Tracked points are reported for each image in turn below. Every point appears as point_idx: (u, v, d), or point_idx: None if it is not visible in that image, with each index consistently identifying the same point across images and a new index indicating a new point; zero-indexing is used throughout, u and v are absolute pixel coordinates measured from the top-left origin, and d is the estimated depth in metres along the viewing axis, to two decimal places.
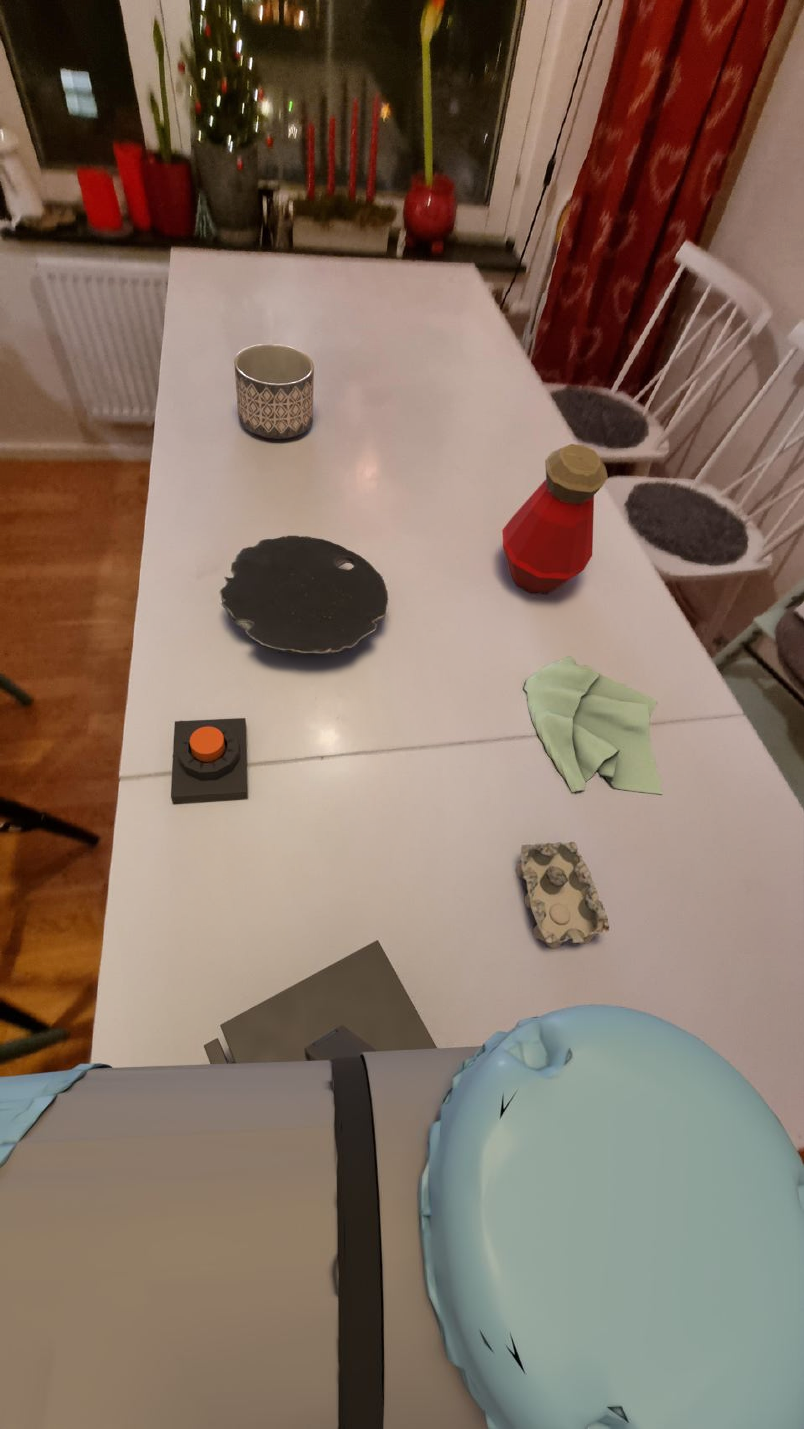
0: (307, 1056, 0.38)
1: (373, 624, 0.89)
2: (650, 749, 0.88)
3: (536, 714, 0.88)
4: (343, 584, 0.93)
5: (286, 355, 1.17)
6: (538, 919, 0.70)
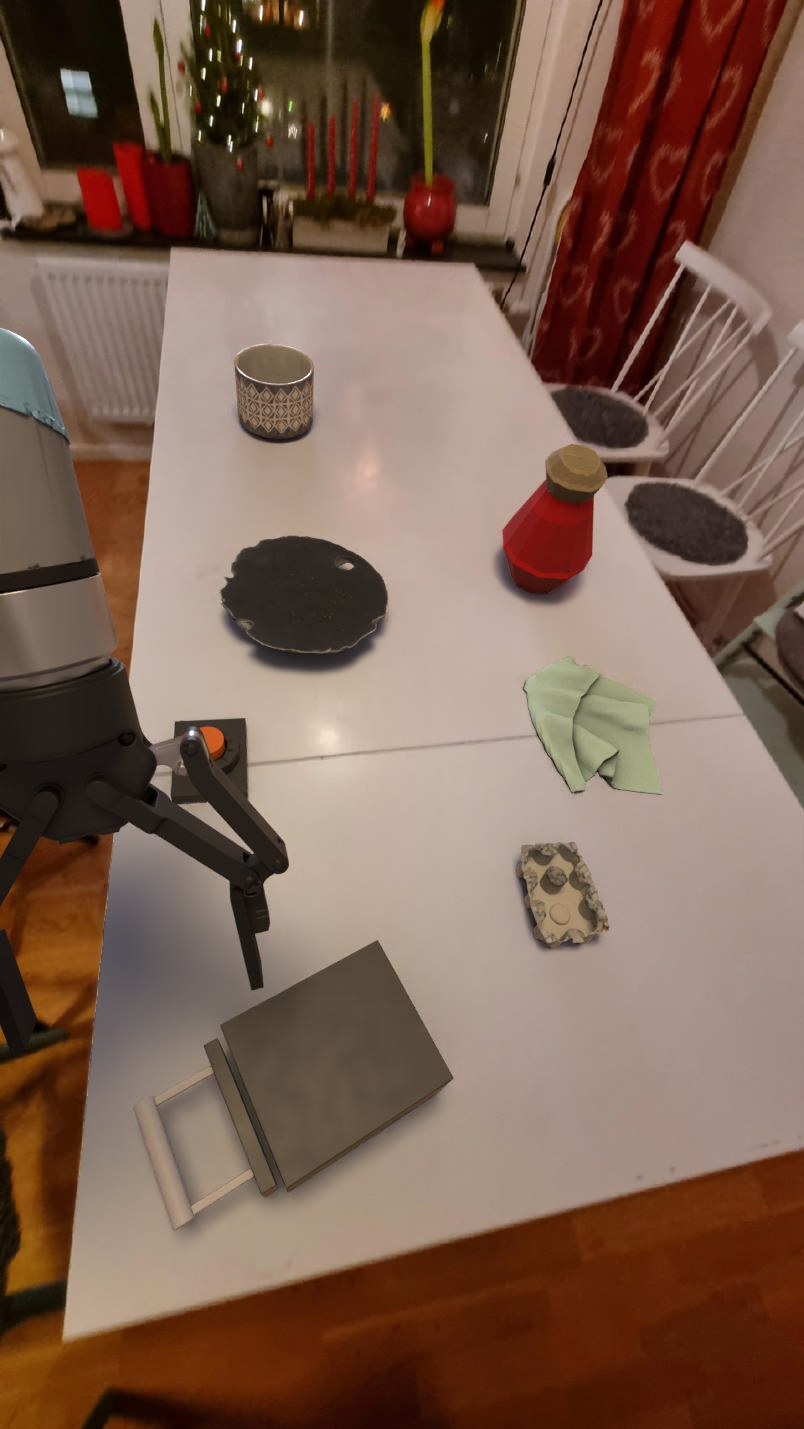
0: None
1: (373, 624, 0.89)
2: (650, 749, 0.88)
3: (536, 714, 0.88)
4: (343, 584, 0.93)
5: (286, 355, 1.17)
6: (538, 919, 0.70)
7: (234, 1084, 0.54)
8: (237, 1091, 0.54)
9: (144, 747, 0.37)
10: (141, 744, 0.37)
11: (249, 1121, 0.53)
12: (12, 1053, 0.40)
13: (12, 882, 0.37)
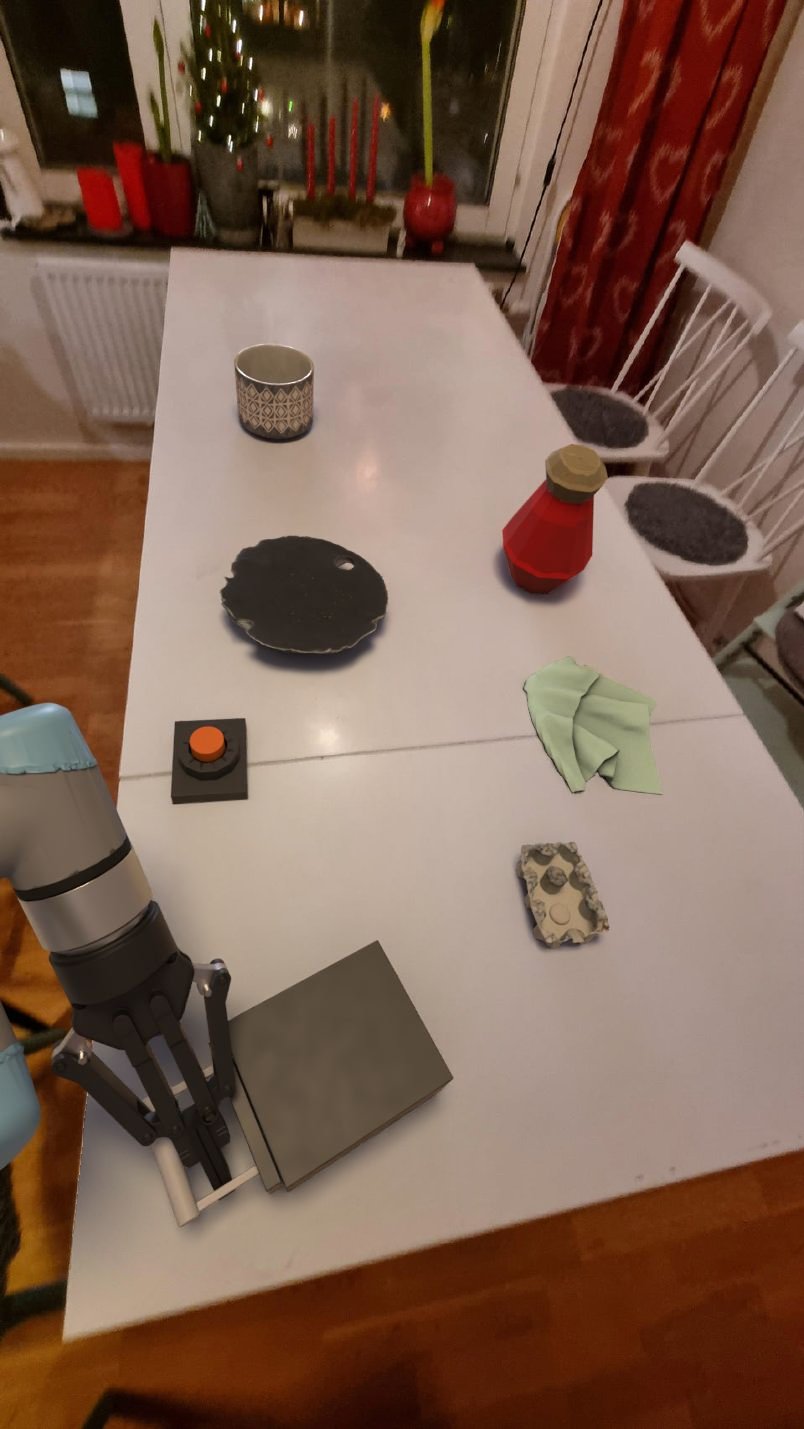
0: (143, 1139, 0.49)
1: (373, 624, 0.89)
2: (650, 749, 0.88)
3: (536, 714, 0.88)
4: (343, 584, 0.93)
5: (286, 355, 1.17)
6: (538, 919, 0.70)
7: (239, 1081, 0.54)
8: (242, 1088, 0.54)
9: (184, 959, 0.50)
10: (181, 958, 0.50)
11: (254, 1118, 0.53)
12: (219, 1199, 0.52)
13: (157, 1074, 0.49)
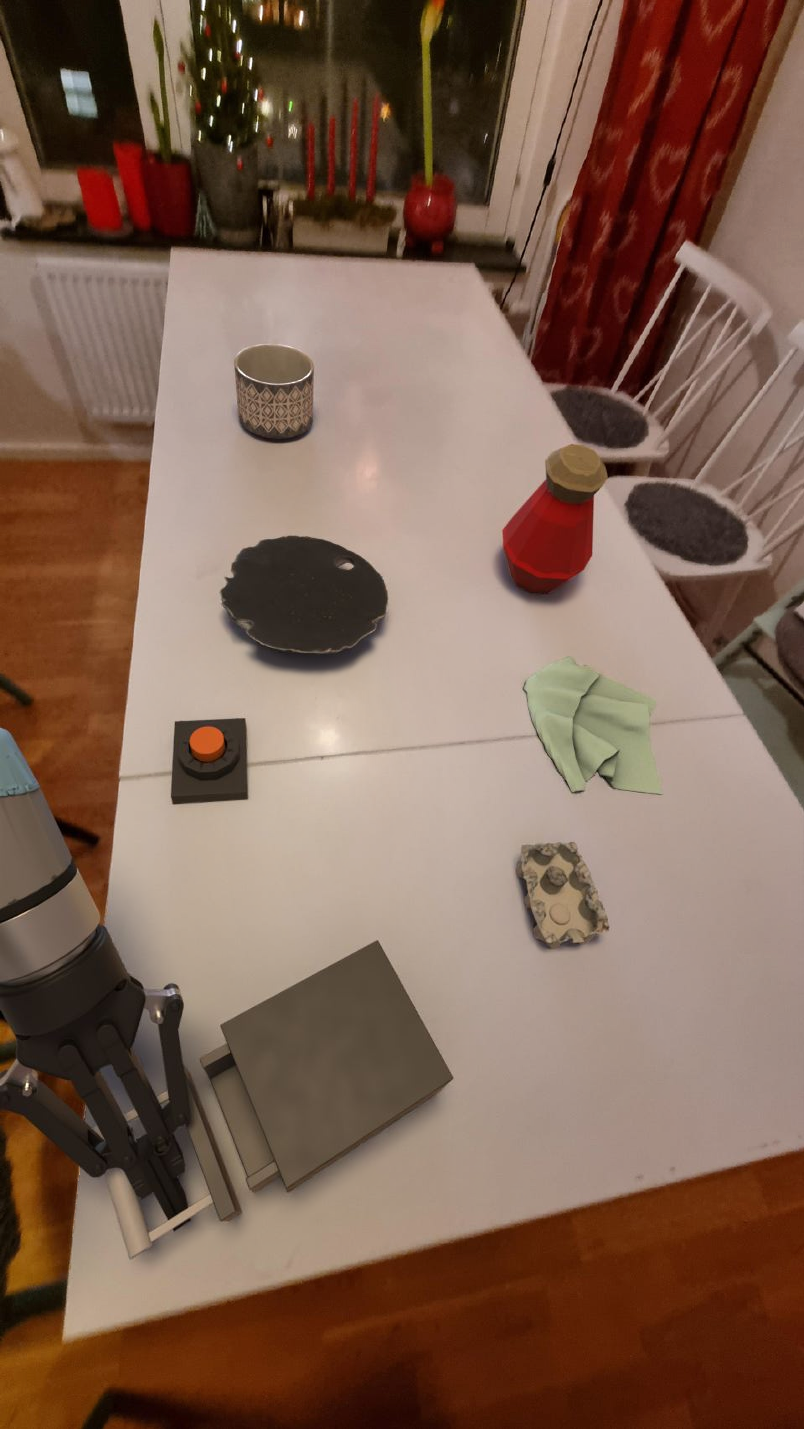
0: (93, 1170, 0.48)
1: (373, 624, 0.89)
2: (650, 749, 0.88)
3: (536, 714, 0.88)
4: (343, 584, 0.93)
5: (286, 355, 1.17)
6: (538, 919, 0.70)
7: (195, 1106, 0.53)
8: (198, 1114, 0.53)
9: (134, 986, 0.48)
10: (131, 985, 0.48)
11: (210, 1145, 0.52)
12: (174, 1229, 0.51)
13: (107, 1104, 0.48)
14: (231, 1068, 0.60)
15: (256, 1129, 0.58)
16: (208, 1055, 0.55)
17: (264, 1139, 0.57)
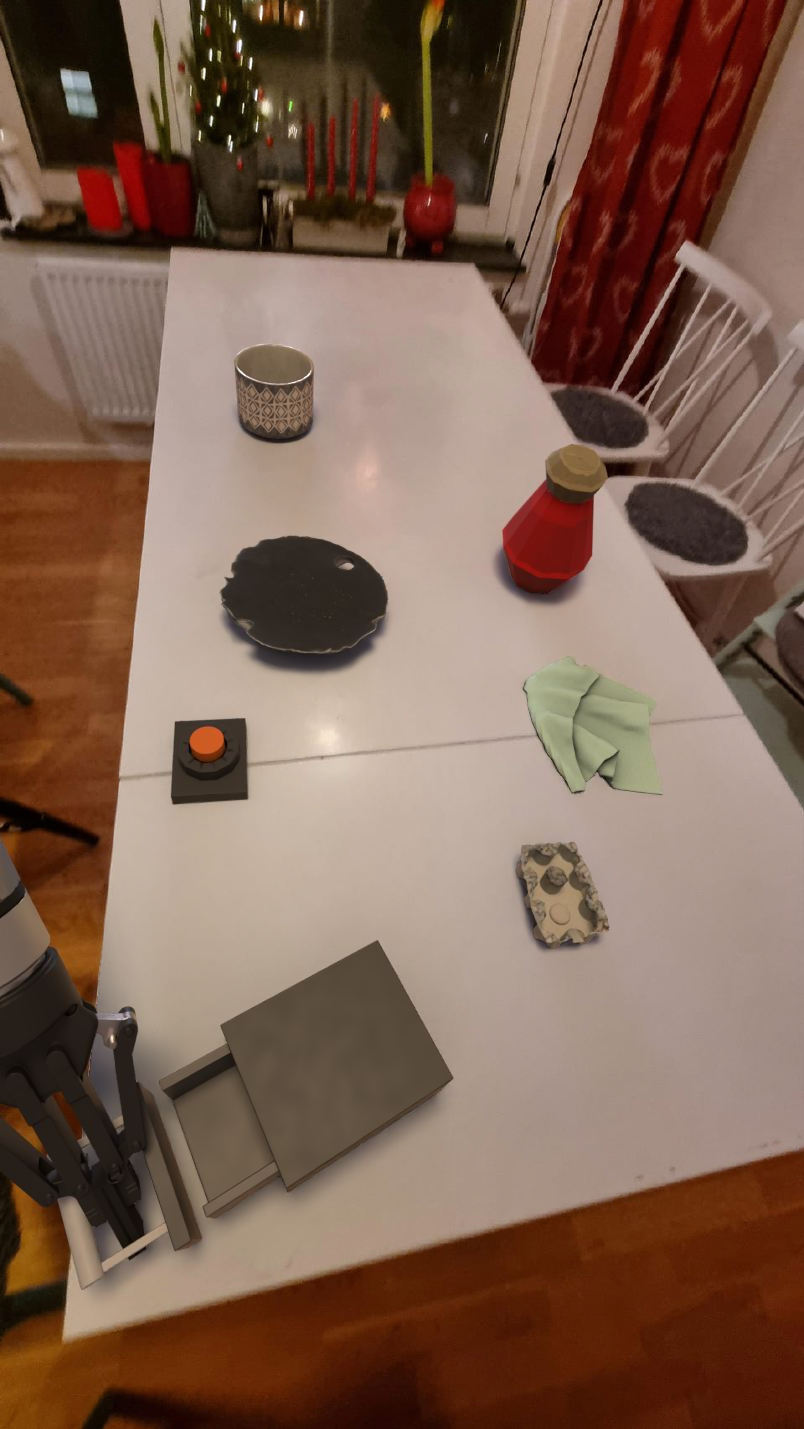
0: (44, 1200, 0.47)
1: (373, 624, 0.89)
2: (650, 749, 0.88)
3: (536, 714, 0.88)
4: (343, 584, 0.93)
5: (286, 355, 1.17)
6: (538, 919, 0.70)
7: (153, 1131, 0.52)
8: (155, 1139, 0.52)
9: (86, 1011, 0.47)
10: (83, 1009, 0.47)
11: (166, 1171, 0.51)
12: (129, 1258, 0.50)
13: (57, 1131, 0.47)
14: (194, 1089, 0.59)
15: (218, 1152, 0.56)
16: (167, 1077, 0.54)
17: (226, 1163, 0.56)
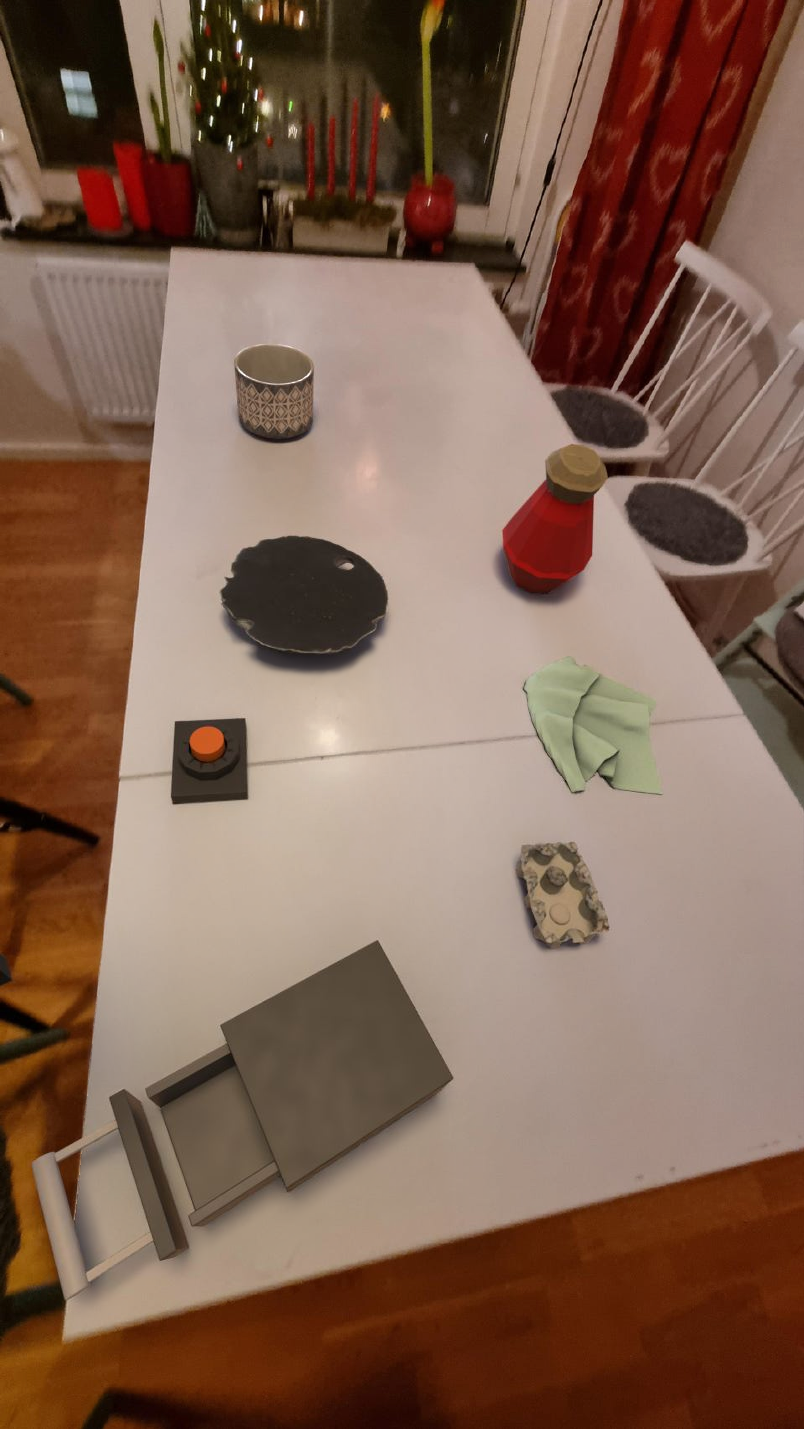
0: None
1: (373, 624, 0.89)
2: (650, 749, 0.88)
3: (536, 714, 0.88)
4: (343, 584, 0.93)
5: (286, 355, 1.17)
6: (538, 919, 0.70)
7: (139, 1139, 0.51)
8: (141, 1147, 0.51)
9: None
10: None
11: (152, 1180, 0.50)
12: None
13: None
14: (182, 1096, 0.58)
15: (206, 1160, 0.56)
16: (154, 1085, 0.54)
17: (214, 1170, 0.56)
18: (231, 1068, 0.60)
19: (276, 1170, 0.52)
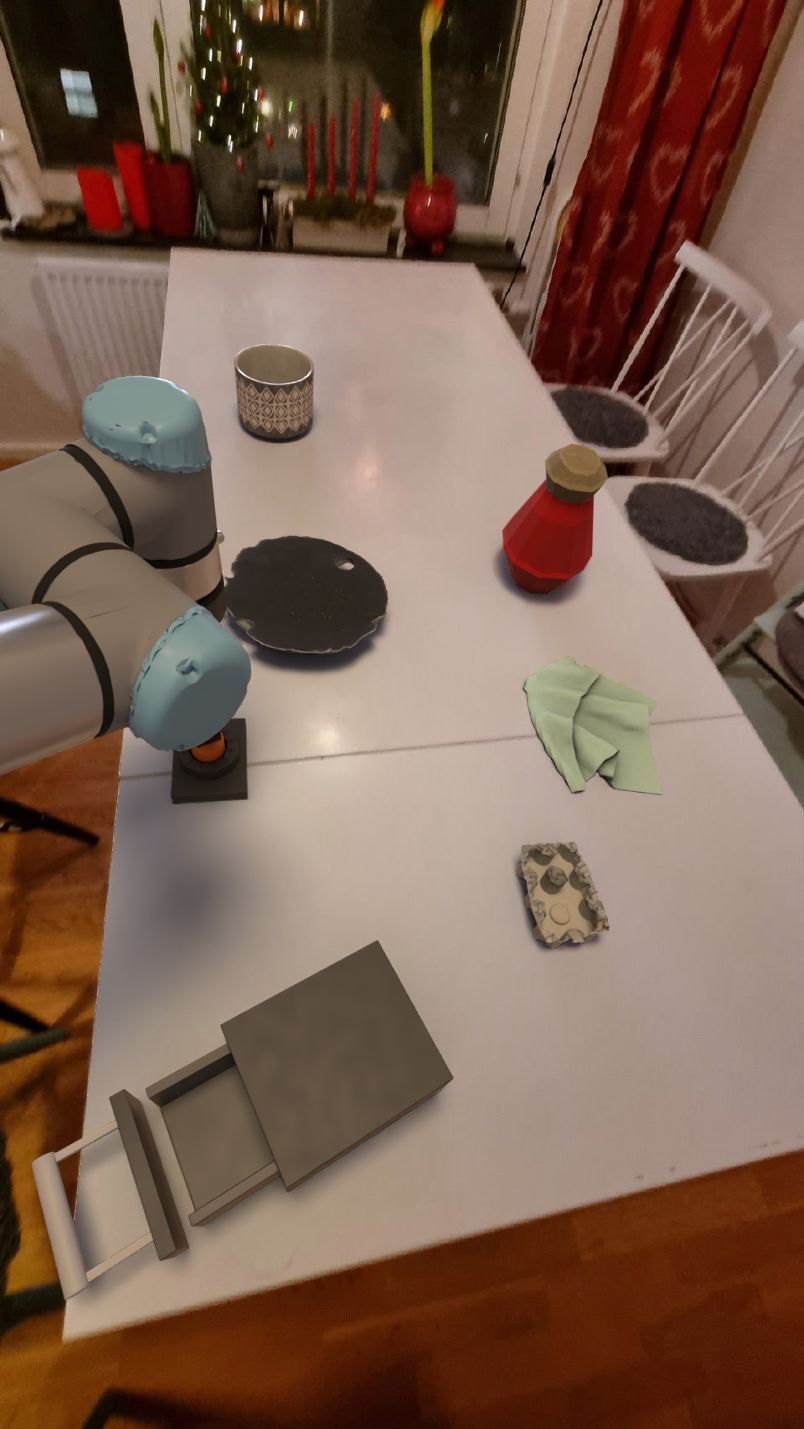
0: None
1: (373, 624, 0.89)
2: (650, 749, 0.88)
3: (536, 714, 0.88)
4: (343, 584, 0.93)
5: (286, 355, 1.17)
6: (538, 919, 0.70)
7: (139, 1139, 0.51)
8: (141, 1147, 0.51)
9: None
10: None
11: (152, 1180, 0.50)
12: None
13: None
14: (182, 1096, 0.58)
15: (206, 1160, 0.56)
16: (154, 1085, 0.54)
17: (214, 1170, 0.56)
18: (231, 1068, 0.60)
19: (276, 1170, 0.52)
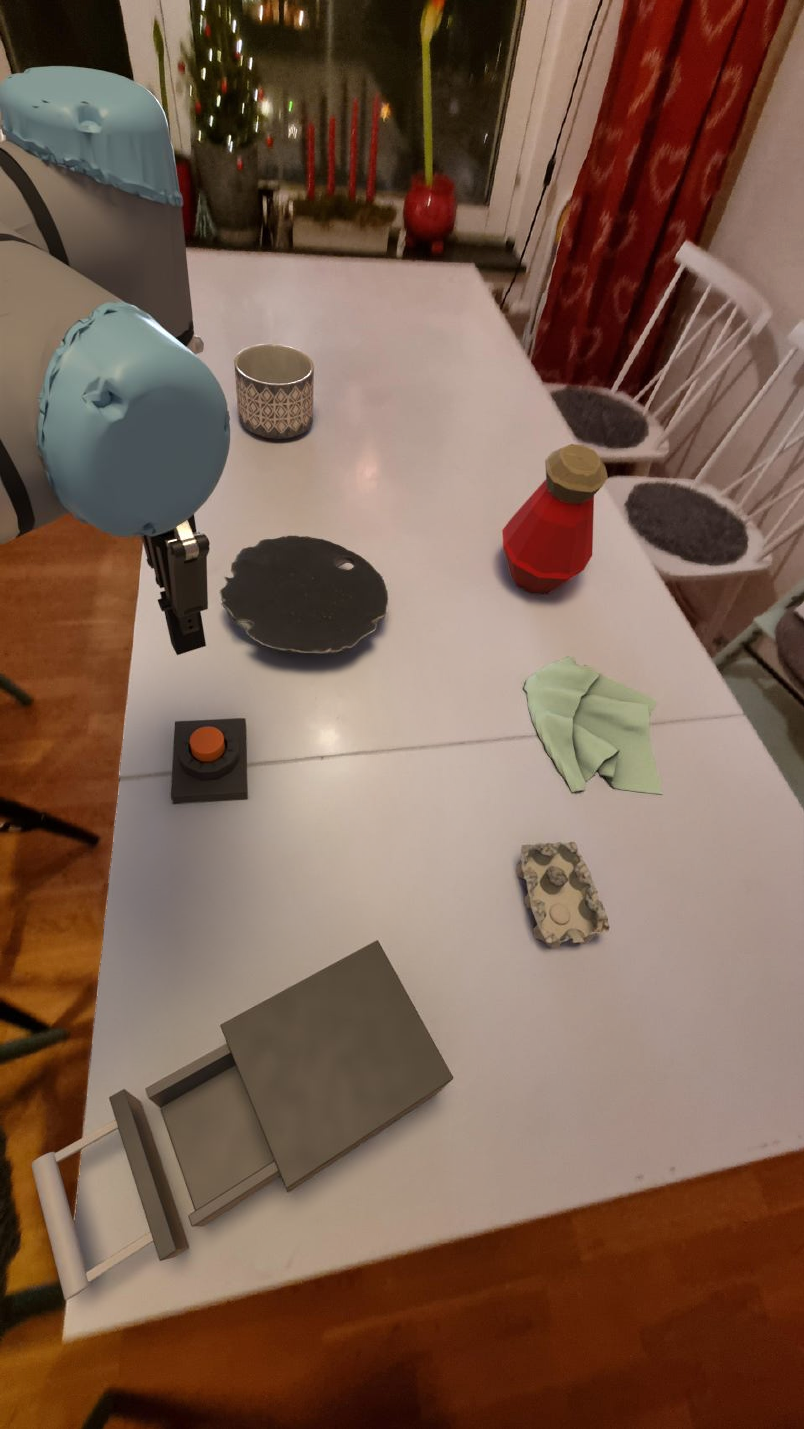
0: (147, 558, 0.58)
1: (373, 624, 0.89)
2: (650, 749, 0.88)
3: (536, 714, 0.88)
4: (343, 584, 0.93)
5: (286, 355, 1.17)
6: (538, 919, 0.70)
7: (139, 1139, 0.51)
8: (141, 1147, 0.51)
9: None
10: None
11: (152, 1180, 0.50)
12: (171, 643, 0.63)
13: (150, 540, 0.54)
14: (182, 1096, 0.58)
15: (206, 1160, 0.56)
16: (154, 1085, 0.54)
17: (214, 1170, 0.56)
18: (231, 1068, 0.60)
19: (276, 1170, 0.52)
